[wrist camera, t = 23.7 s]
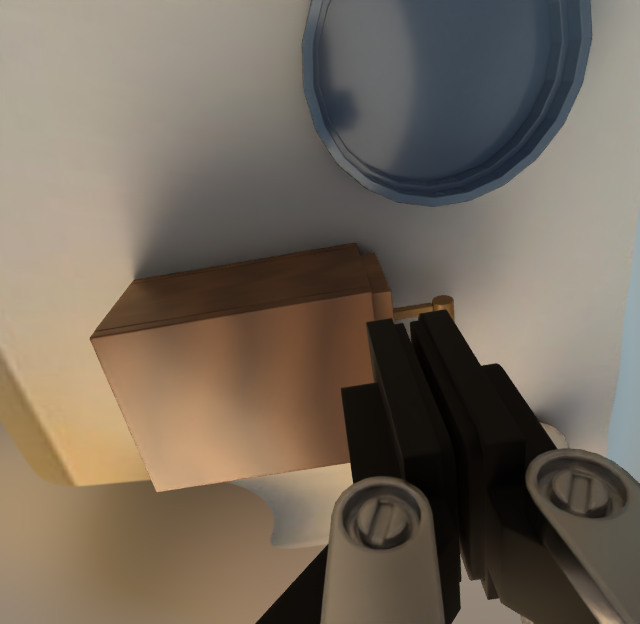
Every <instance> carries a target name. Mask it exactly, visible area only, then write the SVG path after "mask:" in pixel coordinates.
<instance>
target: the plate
mask: <svg viewBox="0 0 640 624" xmlns="http://www.w3.org/2000/svg"><path fill="white" fill-rule="evenodd" d="M591 41H592V23H591V3H590V0H311V5H310V9H309V14H308V18H307V23H306V27H305V32H304V36H303V40H302V72H303V89H304V93H305V96H306V99H307V103H308V106H309V109H310V113H311V116H312V120H313V123H314V126H315V129H316V132H317V133H318V135H319V136H320V138H321V139H322V141H323V143H324V144H325V146H326V147H327V149H328V150H329V152H330V154H331V155H332V157H333V158H334V160H335V161H336V163H337V164H338V165H339V166H340V167H341V168H342V169H343V170H345V171H346V172H347V173H348V174H349V175H350V176H352V177H353V178H354V179H355V180H356V181H357V182H359V183H360V184H361V185H362V186H363V187H364V188H366V189H368V190H370V191H372V192H375V193H377V194H379V195H381V196H384V197H386V198H388V199H391V200H393V201H395V202H399V203H404V204H413V205H422V206H430V207H436V206H442V205H448V204H454V203H460V202H466V201H470V200H473V199H475V198H477V197H479V196H481V195H483V194H486V193H488V192H490V191H492V190H494V189H496V188H499V187H501V186H503V185H505V184H506V183H508V182H509V181H510V180H511V179H513V178H514V177H515V176H516V175H517V174H519V173H520V172H521V171H522V170H524V169H525V168H526V167H527V166H529V165H530V164H531V163H532V162H534V161H535V160H536V159H537V158H538V157H539V156H540V155H541V153H542V152H543V151H544V149H545V148H546V147H547V145H548V144H549V143H550V142H551V140H552V139H553V138H554V136H555V135H556V134H557V133H558V131H559V130H560V129H561V127H562V126H563V124H564V123H565V121H566V119H567V117H568V114H569V112H570V110H571V108H572V106H573V104H574V101H575V99H576V97H577V95H578V93H579V91H580V88H581V86H582V84H583V80H584V75H585V70H586V65H587V60H588V56H589V51H590V46H591Z"/></svg>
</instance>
